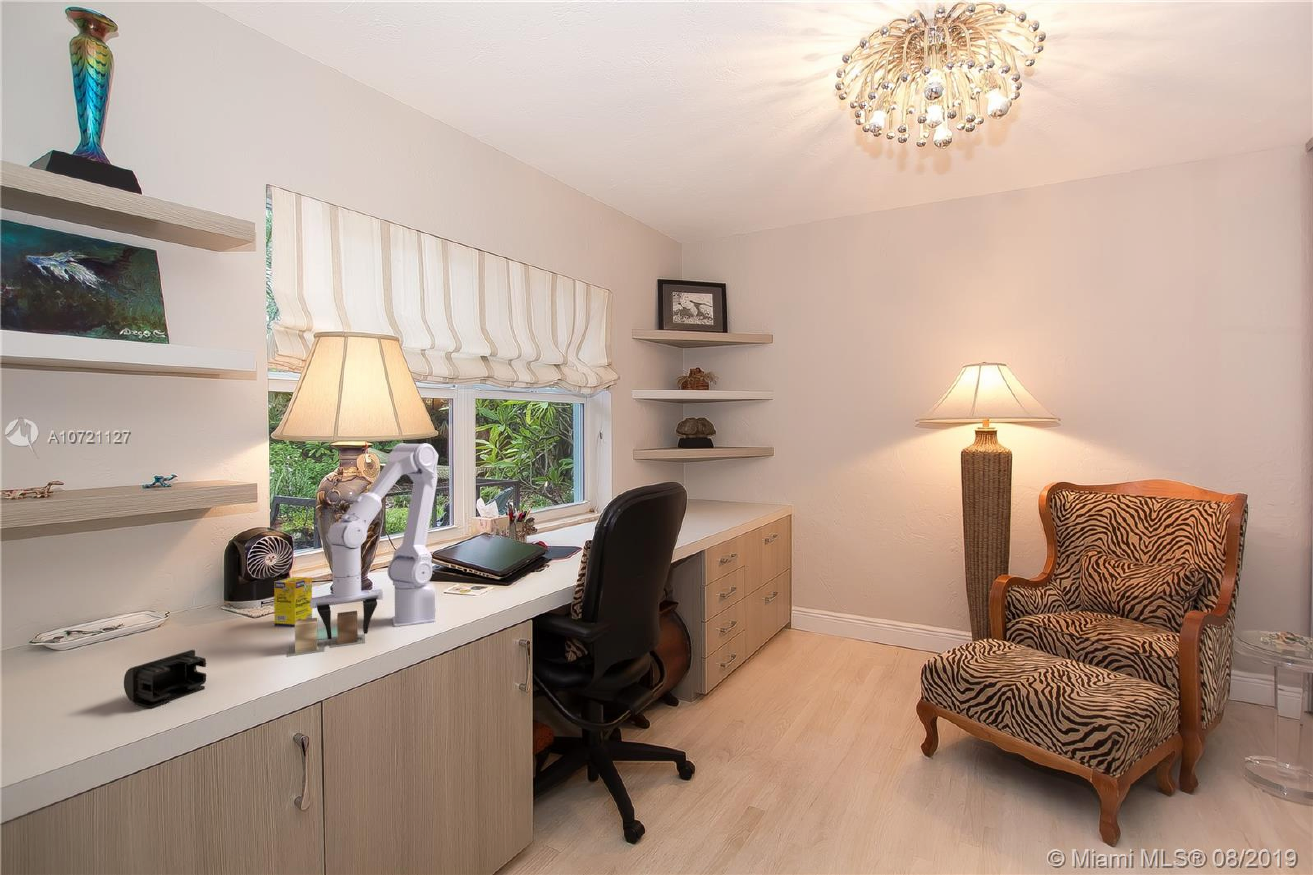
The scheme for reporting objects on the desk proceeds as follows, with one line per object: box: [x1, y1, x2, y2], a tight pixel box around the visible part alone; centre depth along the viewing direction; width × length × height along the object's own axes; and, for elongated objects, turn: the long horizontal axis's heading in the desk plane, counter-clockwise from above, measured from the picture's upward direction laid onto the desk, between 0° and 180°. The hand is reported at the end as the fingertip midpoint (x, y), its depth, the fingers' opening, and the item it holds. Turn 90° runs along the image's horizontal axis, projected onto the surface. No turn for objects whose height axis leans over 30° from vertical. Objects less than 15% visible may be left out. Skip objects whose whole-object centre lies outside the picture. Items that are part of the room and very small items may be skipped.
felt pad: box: [317, 625, 338, 641], centre depth 147 cm, size 9×9×1 cm
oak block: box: [294, 617, 318, 653], centre depth 137 cm, size 4×4×6 cm
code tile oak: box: [286, 641, 326, 658], centre depth 137 cm, size 7×7×1 cm
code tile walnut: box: [329, 633, 366, 649], centre depth 143 cm, size 7×7×1 cm
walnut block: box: [336, 610, 359, 645], centre depth 143 cm, size 4×4×6 cm
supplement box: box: [273, 576, 313, 628], centre depth 156 cm, size 6×6×11 cm
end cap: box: [123, 649, 208, 710], centre depth 114 cm, size 10×7×7 cm
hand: (347, 635), depth 143 cm, fingers open, 7 cm apart
